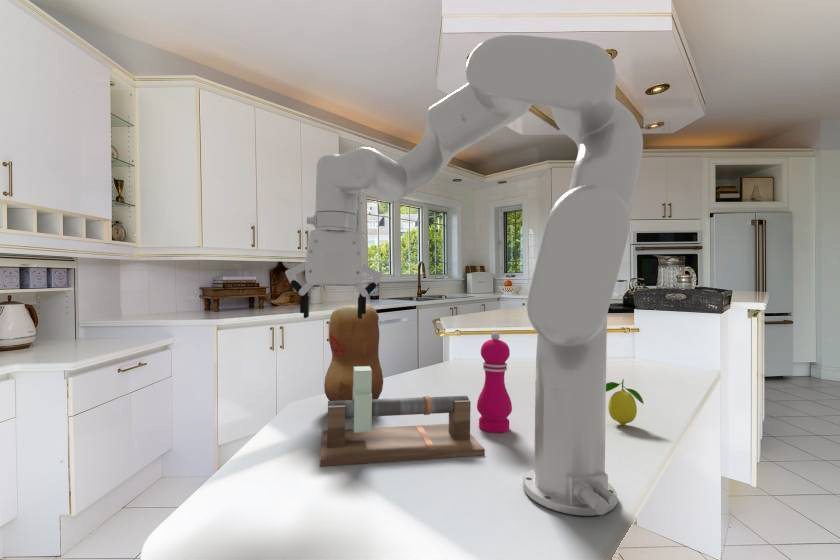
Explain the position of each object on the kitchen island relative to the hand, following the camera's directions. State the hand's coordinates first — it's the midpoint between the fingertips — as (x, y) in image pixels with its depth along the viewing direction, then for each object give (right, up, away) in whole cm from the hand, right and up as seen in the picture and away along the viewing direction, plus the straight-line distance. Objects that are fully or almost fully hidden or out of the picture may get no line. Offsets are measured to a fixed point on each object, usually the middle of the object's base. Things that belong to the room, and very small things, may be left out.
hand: (333, 317), depth 77 cm
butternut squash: (+1, -24, +20) cm, 31 cm away
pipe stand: (+12, -24, 0) cm, 26 cm away
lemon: (+59, -25, +13) cm, 66 cm away
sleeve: (+5, -20, -1) cm, 20 cm away
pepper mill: (+31, -24, +11) cm, 41 cm away
